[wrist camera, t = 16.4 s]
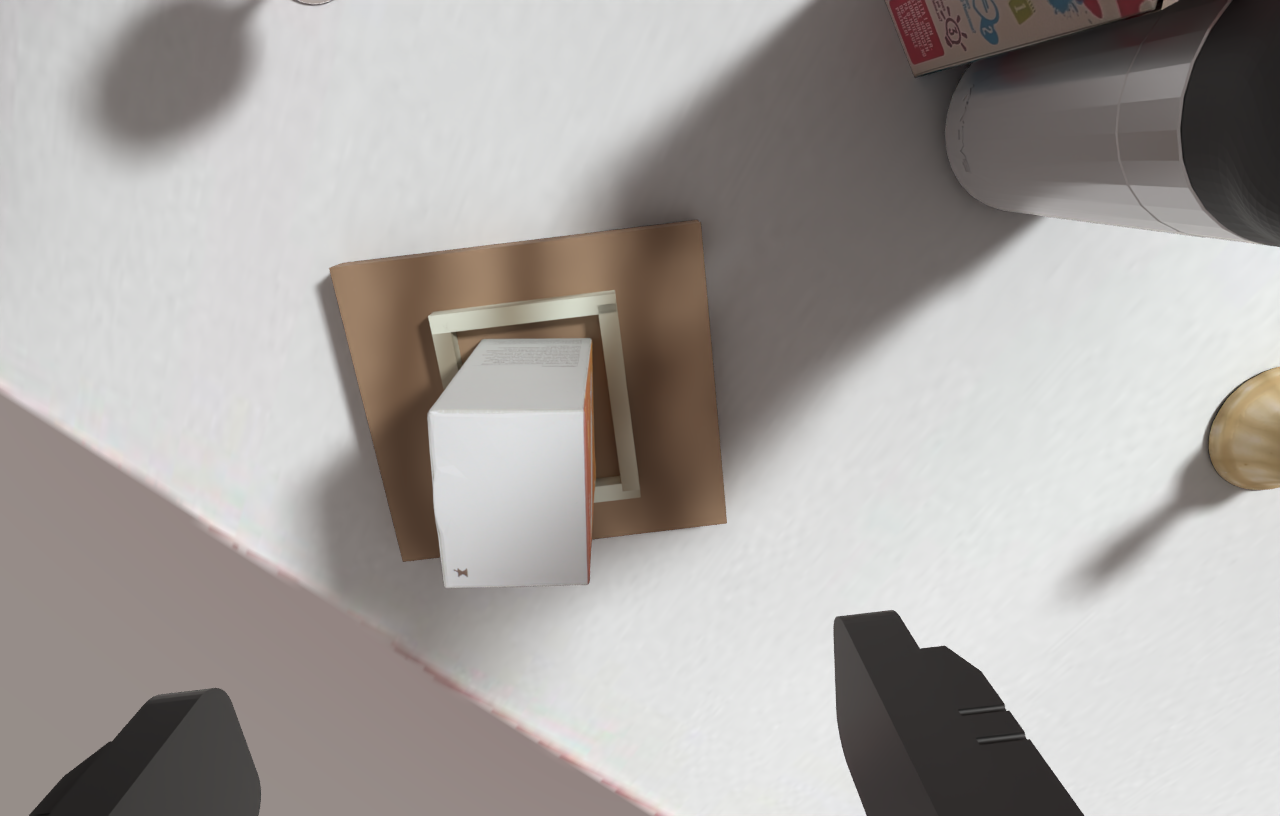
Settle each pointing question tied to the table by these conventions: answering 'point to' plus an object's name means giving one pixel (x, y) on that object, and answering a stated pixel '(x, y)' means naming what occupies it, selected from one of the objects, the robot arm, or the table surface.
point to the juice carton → (997, 26)
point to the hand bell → (1249, 434)
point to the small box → (516, 465)
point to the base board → (540, 309)
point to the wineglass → (314, 1)
